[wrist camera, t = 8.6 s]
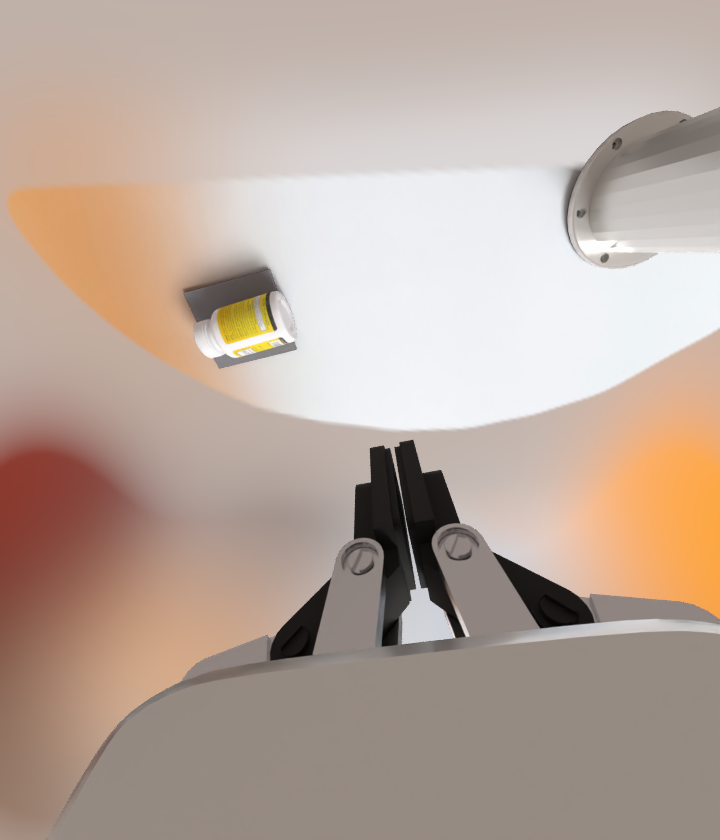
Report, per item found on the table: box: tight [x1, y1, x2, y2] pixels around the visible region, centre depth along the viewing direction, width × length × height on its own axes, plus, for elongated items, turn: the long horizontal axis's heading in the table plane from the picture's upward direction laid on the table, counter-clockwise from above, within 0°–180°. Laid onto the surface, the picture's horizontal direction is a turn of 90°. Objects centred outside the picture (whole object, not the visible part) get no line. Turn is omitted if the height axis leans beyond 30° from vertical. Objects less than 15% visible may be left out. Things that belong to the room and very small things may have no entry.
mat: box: [184, 269, 297, 369], centre depth 37 cm, size 10×9×1 cm
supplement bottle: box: [193, 291, 296, 358], centre depth 34 cm, size 5×5×10 cm
